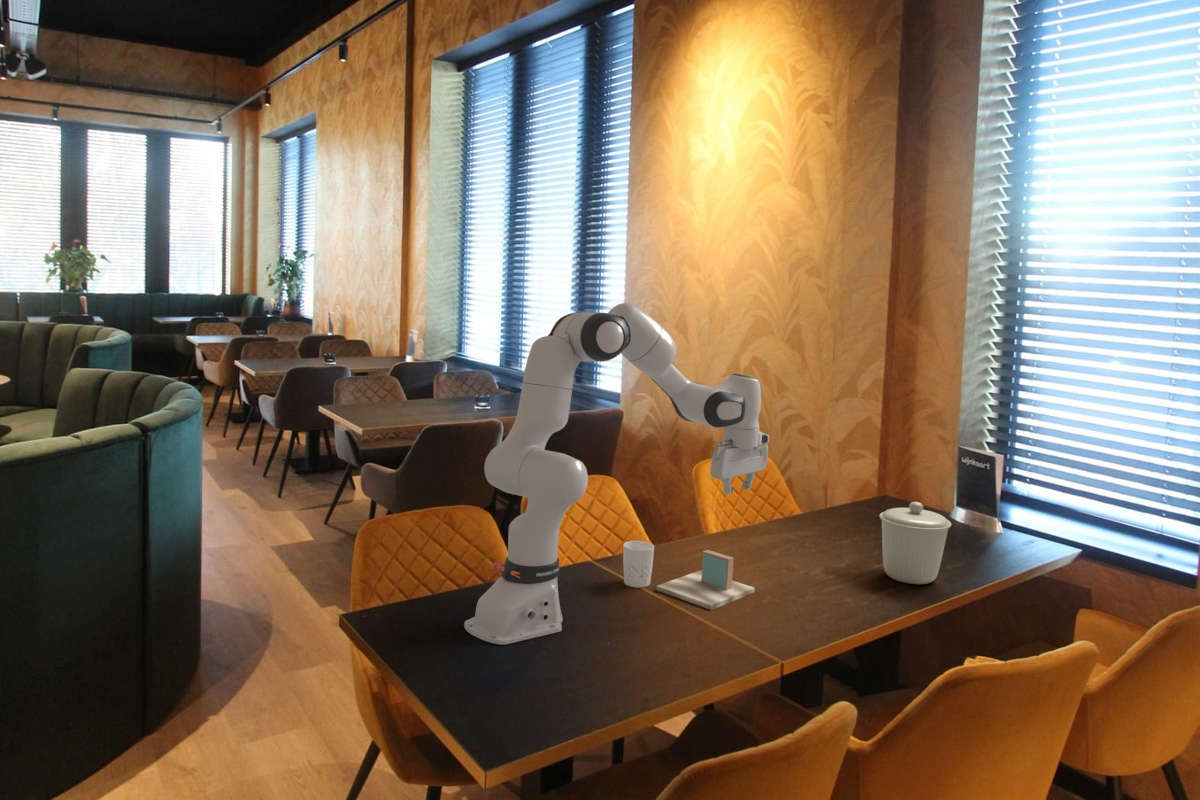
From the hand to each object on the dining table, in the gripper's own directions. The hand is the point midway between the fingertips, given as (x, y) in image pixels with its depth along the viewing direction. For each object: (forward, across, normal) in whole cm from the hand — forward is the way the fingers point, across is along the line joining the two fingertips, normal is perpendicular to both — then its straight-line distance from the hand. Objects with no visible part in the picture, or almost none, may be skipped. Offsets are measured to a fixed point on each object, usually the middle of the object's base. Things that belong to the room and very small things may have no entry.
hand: (737, 491), depth 217 cm
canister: (+25, +41, -29) cm, 56 cm away
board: (+24, -10, +1) cm, 26 cm away
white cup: (+24, -19, +16) cm, 35 cm away
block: (+23, -7, 0) cm, 24 cm away
